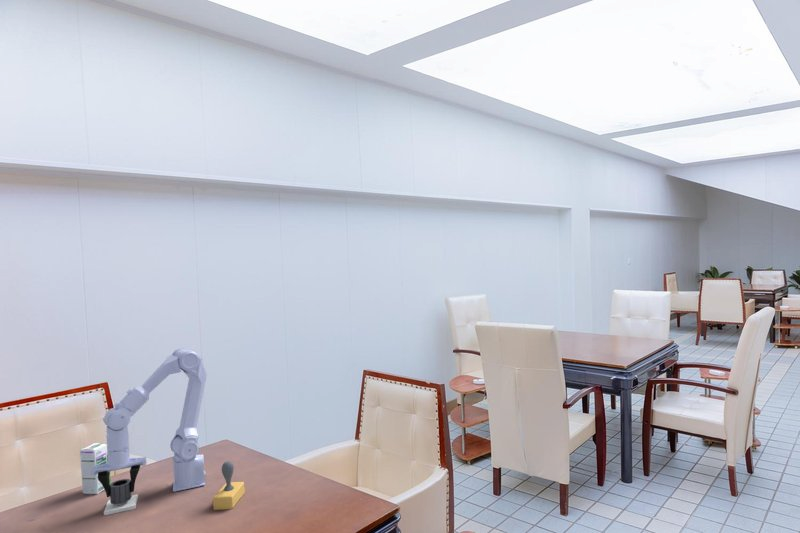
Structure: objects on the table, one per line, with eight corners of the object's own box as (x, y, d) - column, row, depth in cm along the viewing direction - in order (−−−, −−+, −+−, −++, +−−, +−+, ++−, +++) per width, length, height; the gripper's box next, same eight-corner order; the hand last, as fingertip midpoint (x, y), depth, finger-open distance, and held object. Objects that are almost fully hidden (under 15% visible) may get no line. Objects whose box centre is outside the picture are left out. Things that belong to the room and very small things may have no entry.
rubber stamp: (226, 493, 152) (224, 455, 152) (245, 493, 152) (242, 454, 152) (213, 509, 142) (210, 468, 142) (232, 509, 142) (230, 468, 142)
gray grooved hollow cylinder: (133, 494, 150) (133, 478, 150) (127, 502, 145) (126, 485, 145) (114, 496, 149) (113, 480, 149) (107, 505, 144) (106, 488, 144)
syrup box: (97, 494, 156) (95, 449, 156) (81, 493, 157) (79, 449, 157) (111, 486, 162) (109, 442, 162) (96, 485, 163) (93, 442, 163)
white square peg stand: (137, 497, 153) (136, 481, 153) (135, 508, 145) (134, 492, 145) (108, 503, 150) (107, 487, 150) (104, 515, 142) (103, 498, 142)
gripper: (146, 439, 154) (148, 482, 154) (92, 448, 148) (95, 493, 148) (144, 446, 147) (146, 491, 147) (88, 456, 142) (90, 503, 142)
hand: (120, 493), depth 147 cm, fingers open, 6 cm apart
